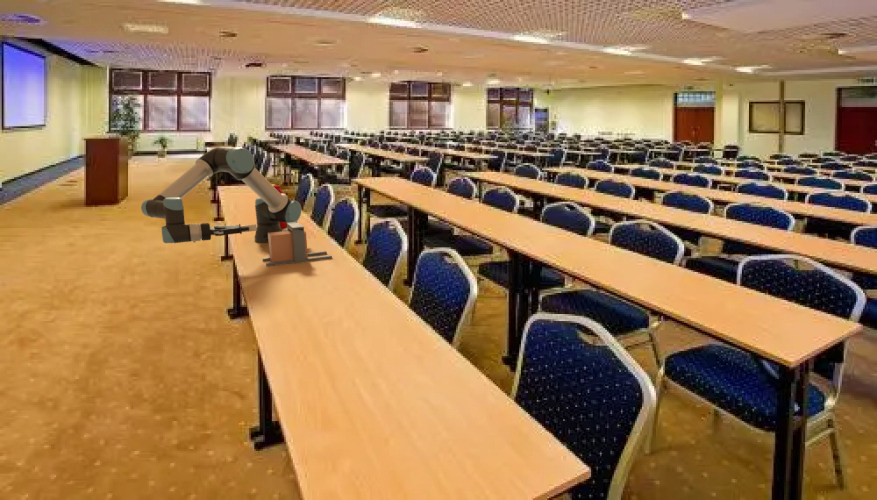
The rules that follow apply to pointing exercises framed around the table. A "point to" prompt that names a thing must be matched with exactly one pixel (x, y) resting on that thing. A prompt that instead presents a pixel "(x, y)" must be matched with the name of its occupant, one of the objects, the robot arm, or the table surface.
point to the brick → (282, 246)
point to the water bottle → (278, 188)
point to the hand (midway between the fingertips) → (256, 227)
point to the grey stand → (298, 247)
